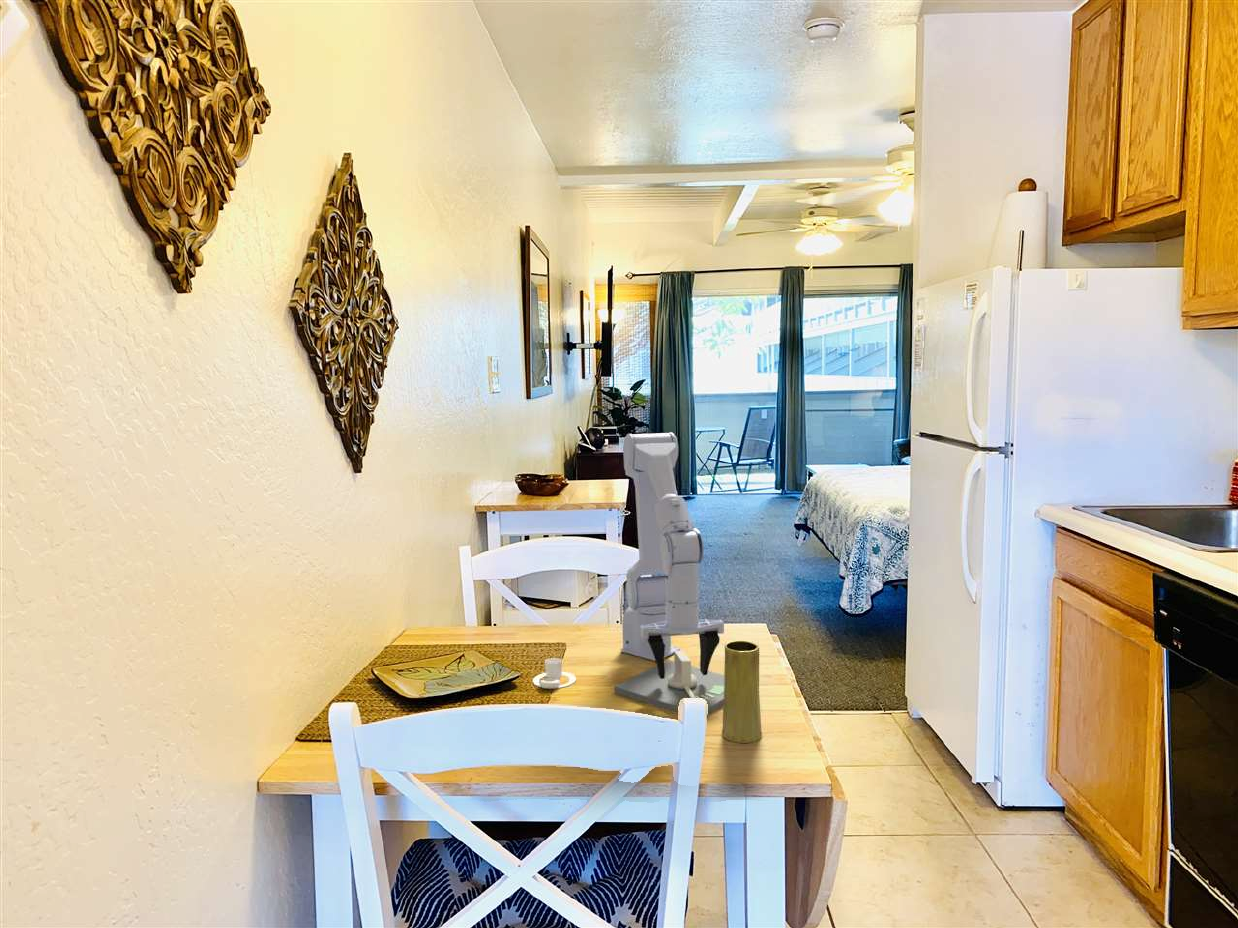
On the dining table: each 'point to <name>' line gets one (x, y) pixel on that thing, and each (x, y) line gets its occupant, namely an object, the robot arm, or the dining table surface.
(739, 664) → the vase
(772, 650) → the dining table surface
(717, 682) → the dial board
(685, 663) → the knob
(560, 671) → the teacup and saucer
